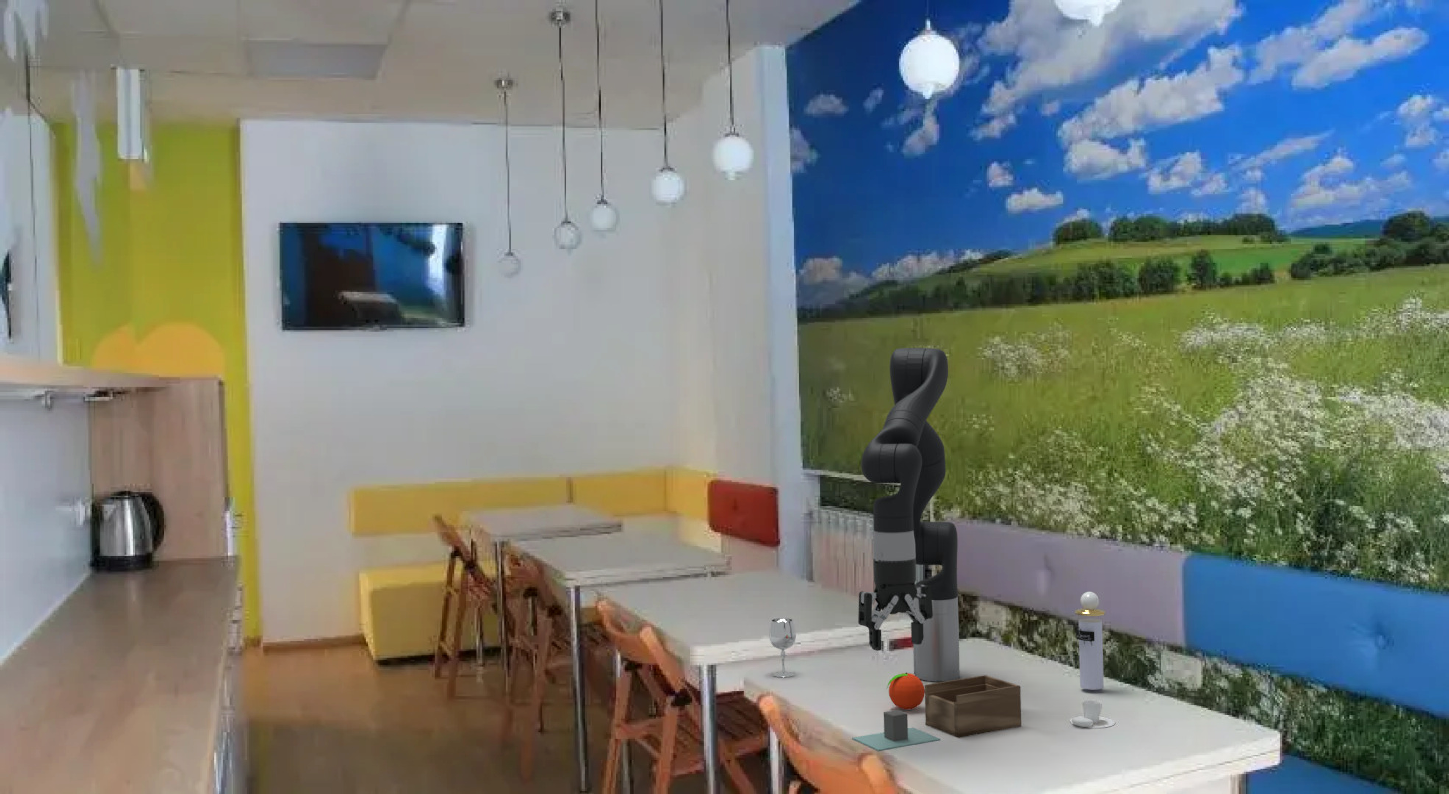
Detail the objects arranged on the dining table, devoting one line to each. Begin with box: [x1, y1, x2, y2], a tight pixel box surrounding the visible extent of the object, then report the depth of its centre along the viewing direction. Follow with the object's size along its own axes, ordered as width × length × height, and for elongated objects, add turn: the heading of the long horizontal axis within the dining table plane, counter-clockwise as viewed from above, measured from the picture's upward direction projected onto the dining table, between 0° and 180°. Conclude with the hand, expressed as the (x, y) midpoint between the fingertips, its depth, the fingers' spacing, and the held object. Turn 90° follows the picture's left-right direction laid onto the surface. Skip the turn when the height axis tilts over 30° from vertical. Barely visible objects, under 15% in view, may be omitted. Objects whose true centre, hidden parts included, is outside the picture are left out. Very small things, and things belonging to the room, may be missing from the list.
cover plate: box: [851, 709, 941, 752], centre depth 217 cm, size 8×13×5 cm, turn 116°
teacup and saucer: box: [1069, 699, 1116, 729], centre depth 225 cm, size 9×8×4 cm
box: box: [924, 674, 1022, 739], centre depth 225 cm, size 10×14×7 cm
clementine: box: [886, 672, 925, 711], centre depth 237 cm, size 8×7×7 cm
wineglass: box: [768, 617, 797, 678], centre depth 269 cm, size 6×6×12 cm
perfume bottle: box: [1074, 591, 1106, 691], centre depth 248 cm, size 6×6×20 cm
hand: (896, 646), depth 218 cm, fingers open, 8 cm apart
